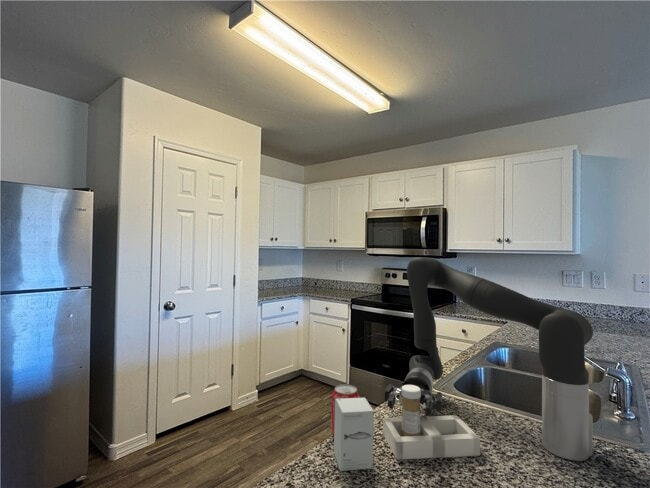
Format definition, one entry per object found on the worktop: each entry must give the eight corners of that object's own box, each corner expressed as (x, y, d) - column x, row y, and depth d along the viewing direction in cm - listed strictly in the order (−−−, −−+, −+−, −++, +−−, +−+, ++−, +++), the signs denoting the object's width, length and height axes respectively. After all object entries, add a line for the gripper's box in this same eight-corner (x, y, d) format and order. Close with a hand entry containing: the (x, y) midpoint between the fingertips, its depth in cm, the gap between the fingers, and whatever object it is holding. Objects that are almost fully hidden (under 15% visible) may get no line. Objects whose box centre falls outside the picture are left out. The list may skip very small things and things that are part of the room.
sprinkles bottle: (407, 436, 86) (407, 382, 86) (423, 443, 83) (424, 387, 83) (397, 443, 82) (398, 387, 83) (414, 451, 79) (415, 393, 80)
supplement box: (339, 472, 72) (340, 412, 72) (333, 452, 79) (334, 397, 79) (373, 469, 73) (374, 410, 73) (364, 449, 80) (365, 396, 80)
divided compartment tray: (456, 430, 90) (456, 415, 90) (479, 455, 79) (480, 438, 79) (382, 433, 87) (383, 418, 88) (396, 459, 77) (396, 441, 77)
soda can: (352, 427, 90) (353, 382, 91) (363, 441, 84) (364, 392, 84) (327, 431, 88) (328, 384, 88) (336, 446, 81) (337, 395, 82)
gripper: (393, 367, 99) (379, 387, 84) (445, 375, 93) (439, 398, 78) (393, 393, 99) (379, 418, 84) (444, 403, 93) (439, 431, 78)
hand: (408, 408), depth 81 cm, fingers open, 8 cm apart
